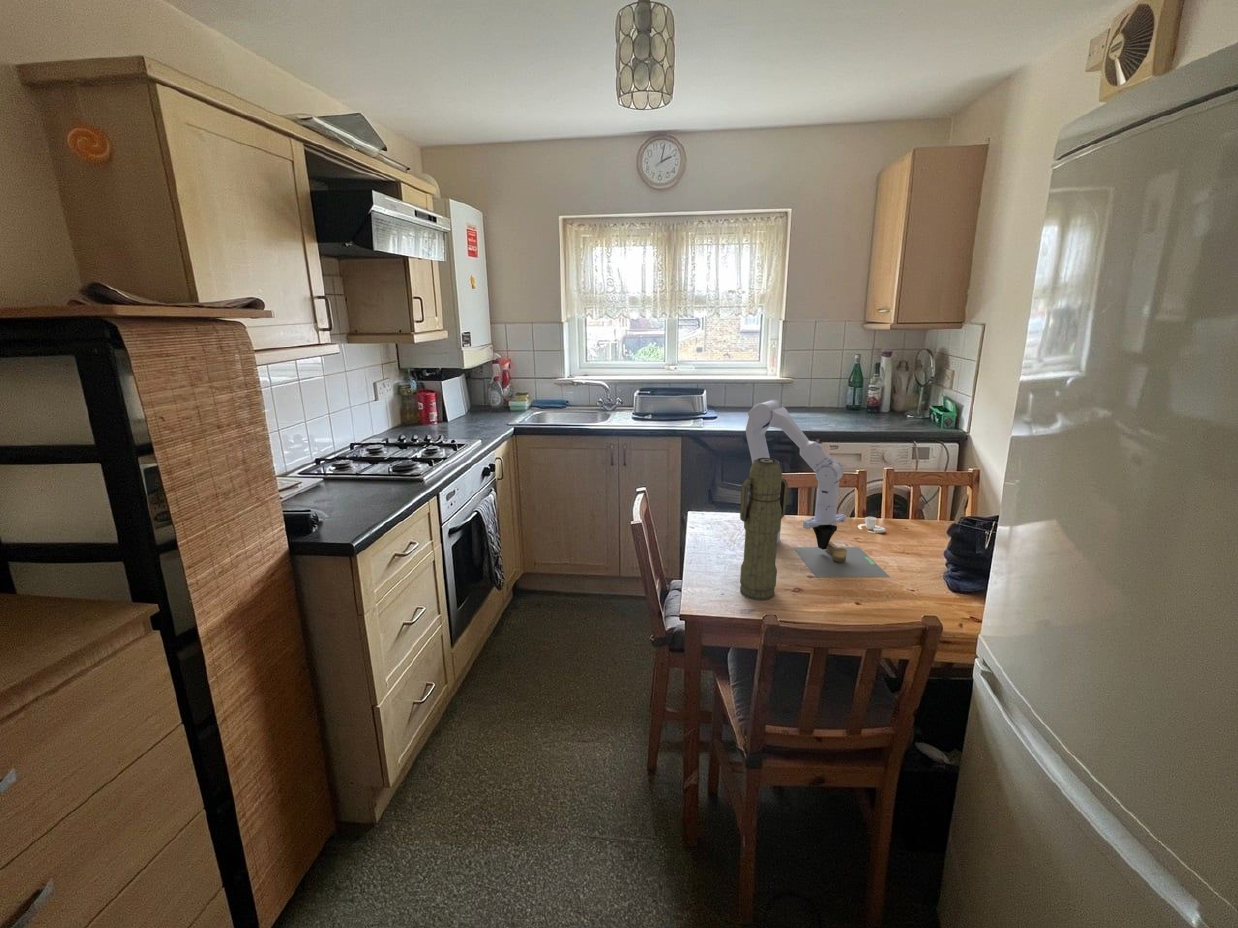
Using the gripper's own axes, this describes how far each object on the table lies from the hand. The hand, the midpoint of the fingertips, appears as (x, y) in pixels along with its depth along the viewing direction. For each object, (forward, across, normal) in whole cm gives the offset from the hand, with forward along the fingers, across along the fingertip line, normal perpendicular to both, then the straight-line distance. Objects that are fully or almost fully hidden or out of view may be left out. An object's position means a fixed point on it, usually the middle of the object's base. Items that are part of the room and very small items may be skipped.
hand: (822, 548), depth 167 cm
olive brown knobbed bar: (+1, +2, -3) cm, 4 cm away
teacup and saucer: (+4, +29, +9) cm, 31 cm away
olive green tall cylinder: (+3, -31, -9) cm, 32 cm away
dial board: (+3, 0, -6) cm, 7 cm away
